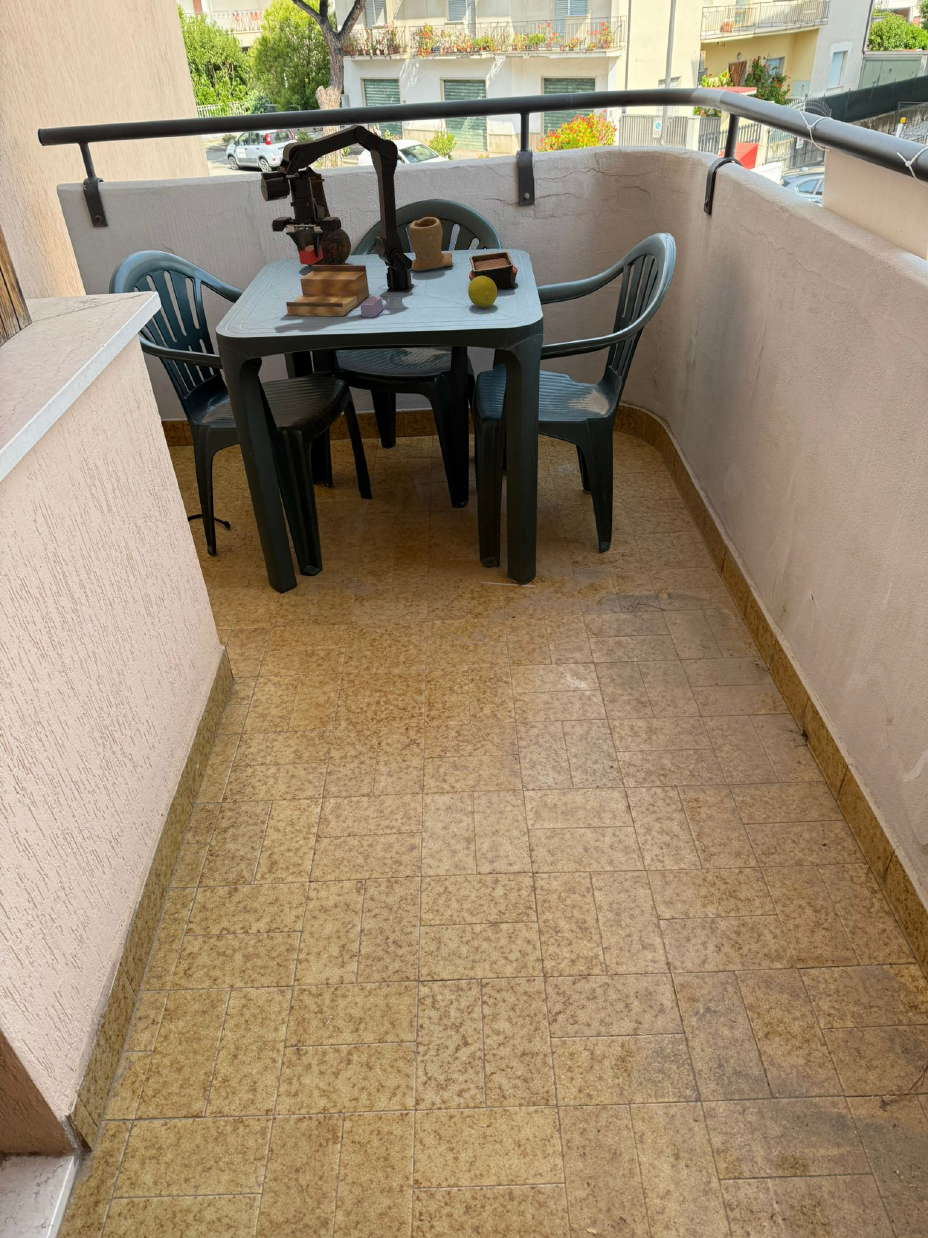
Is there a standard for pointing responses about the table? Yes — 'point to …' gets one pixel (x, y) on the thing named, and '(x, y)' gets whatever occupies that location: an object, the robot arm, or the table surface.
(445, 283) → the table surface
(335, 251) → the glass bottle
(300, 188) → the robot arm
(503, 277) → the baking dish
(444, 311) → the table surface
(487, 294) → the lemon
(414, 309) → the table surface
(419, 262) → the tan hollow boot-shaped piece
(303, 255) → the red nougat bar
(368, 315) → the lilac nougat bar
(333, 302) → the pine rack
